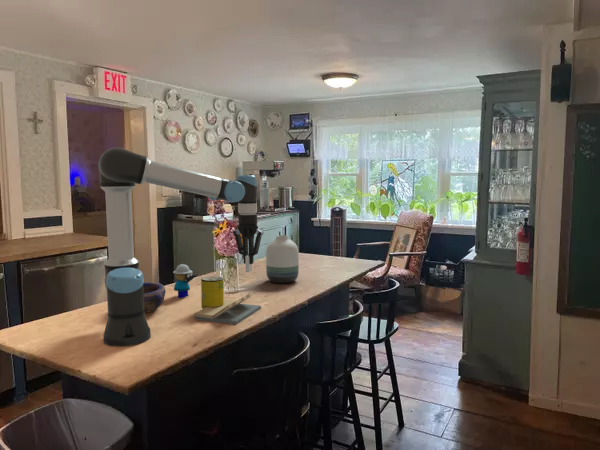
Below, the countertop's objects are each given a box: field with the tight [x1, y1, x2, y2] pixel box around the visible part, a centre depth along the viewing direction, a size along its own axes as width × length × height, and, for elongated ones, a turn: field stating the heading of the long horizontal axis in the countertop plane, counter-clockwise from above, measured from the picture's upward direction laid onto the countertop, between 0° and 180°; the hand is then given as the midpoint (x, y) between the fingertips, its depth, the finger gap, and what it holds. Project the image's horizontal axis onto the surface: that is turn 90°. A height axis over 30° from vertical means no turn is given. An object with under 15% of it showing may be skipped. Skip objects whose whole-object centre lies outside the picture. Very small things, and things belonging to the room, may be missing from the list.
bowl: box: [143, 282, 167, 313], centre depth 190 cm, size 18×18×10 cm
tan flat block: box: [214, 298, 242, 317], centre depth 179 cm, size 10×8×1 cm
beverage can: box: [200, 275, 225, 310], centre depth 190 cm, size 9×9×12 cm
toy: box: [172, 263, 194, 299], centre depth 211 cm, size 8×9×15 cm
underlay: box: [194, 298, 262, 325], centre depth 186 cm, size 22×18×2 cm
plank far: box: [232, 291, 256, 308], centre depth 190 cm, size 10×8×1 cm
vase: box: [265, 234, 300, 284], centre depth 241 cm, size 17×17×24 cm
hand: (248, 271), depth 188 cm, fingers closed
